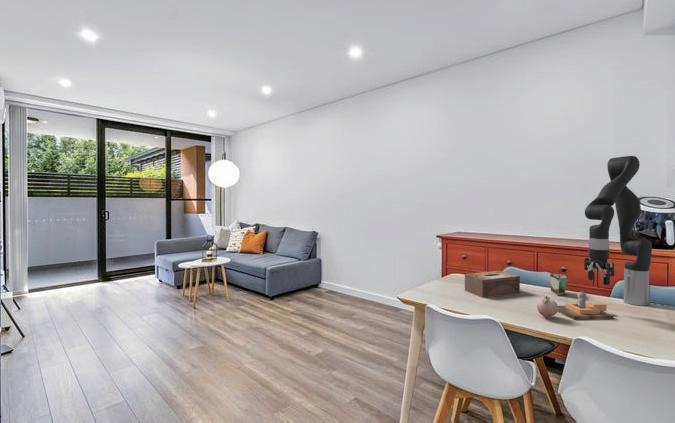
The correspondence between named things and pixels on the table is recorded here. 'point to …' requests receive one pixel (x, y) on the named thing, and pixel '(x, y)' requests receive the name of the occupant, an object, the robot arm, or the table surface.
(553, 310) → the decorative fruit
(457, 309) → the table surface
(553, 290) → the food container
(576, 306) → the link
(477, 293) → the tissue box cover
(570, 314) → the keeper
